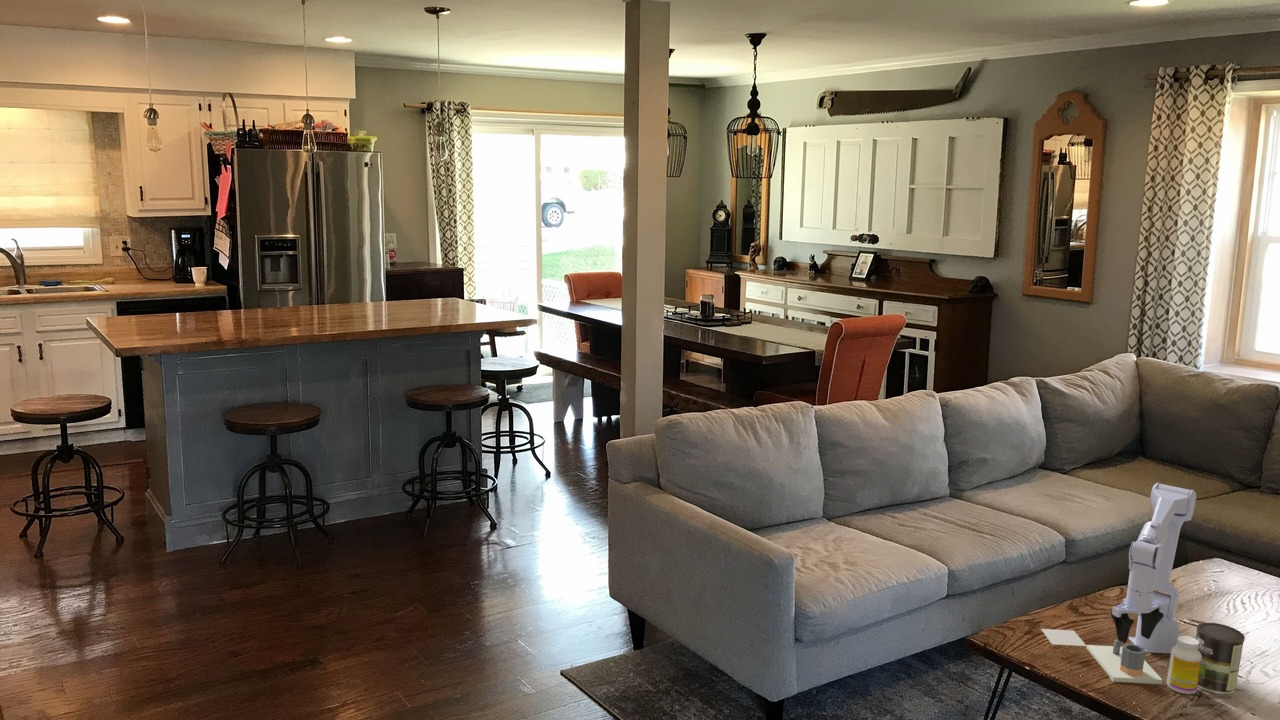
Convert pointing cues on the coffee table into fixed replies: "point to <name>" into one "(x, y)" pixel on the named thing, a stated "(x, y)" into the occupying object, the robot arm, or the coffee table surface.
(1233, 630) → the coffee can
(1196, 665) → the supplement bottle
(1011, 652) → the coffee table surface
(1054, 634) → the pad
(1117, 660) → the pin board
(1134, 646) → the sleeve
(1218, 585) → the coffee table surface
